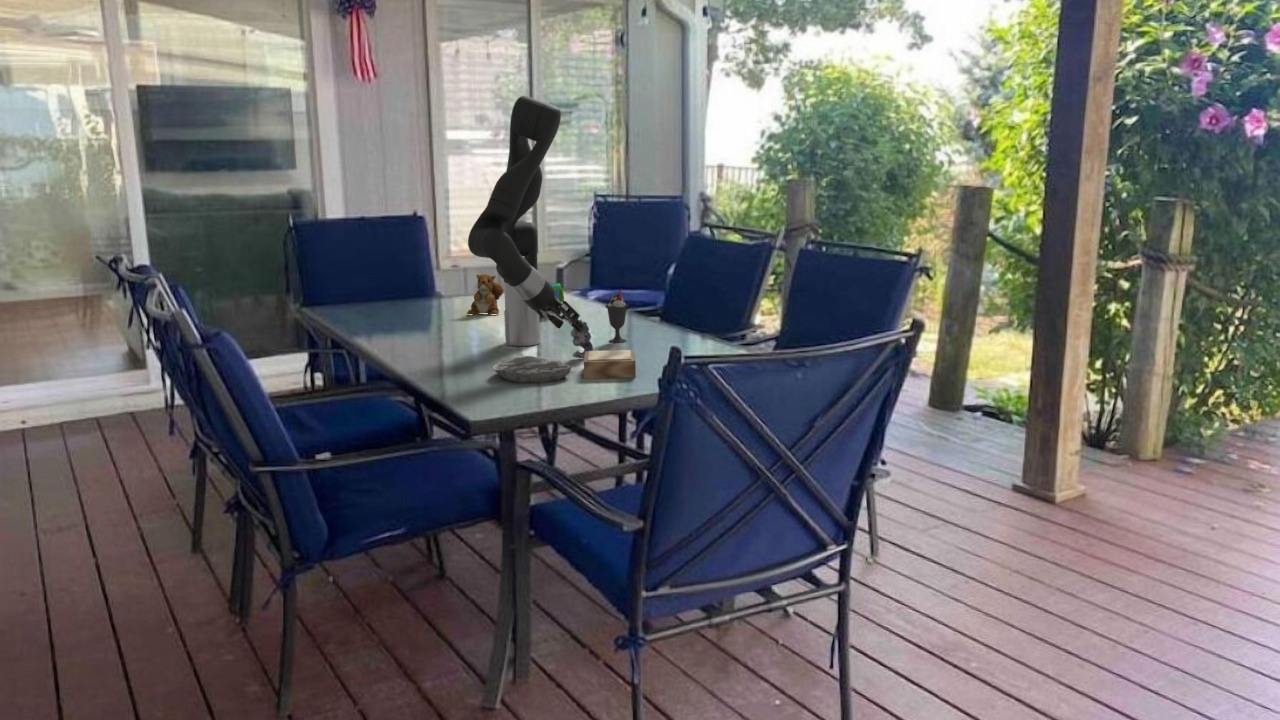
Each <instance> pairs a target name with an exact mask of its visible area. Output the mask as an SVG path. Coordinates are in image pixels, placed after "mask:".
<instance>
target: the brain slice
mask: <svg viewBox="0 0 1280 720" xmlns="http://www.w3.org/2000/svg"><path fill="white" fill-rule="evenodd" d="M491 368H492V369H493V371H495V373H497V374H499V375H500V376H501V377H502V378H503V379H504V378H505V379H504V380H507V379H510V380H509V381H510V382H512V381H514V382H513V383H521V382H527V383H533V384H534V383H546V382H551V381H559V379H560V380H562V379H564V378H566V377H567V376H568V375H569V373H570V372H571V370H572V366H571V365H569V364H565V363H563V362H562V361H561V360H560V359H556V358H552V357H539V356H533V355H525V356H524V355H523V356H516V357H511V358H510V357H509V358H504V359H500V360H499V361H497V362H496V363H495V364H493V366H491Z"/></svg>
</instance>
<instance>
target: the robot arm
mask: <svg viewBox="0 0 1280 720" xmlns="http://www.w3.org/2000/svg"><path fill="white" fill-rule="evenodd" d="M561 112H562V111H561V109H560V108H558V107H557V106H555V105H553V104H550V103H547V102H544V101H542V100H540V99H537V98H533V97H531V96H526V95H522V96H520V97H518V98H517V100H515V101H514V104H513V107H512V110H511V114H510V123H509V151H508V158H507V166H506V170H505V171H504V172H503V174H501V176H500V177H499V178H498V180H497V181H496V183H495V185H494V186H493V190H492V192H491V194H490V197H489V199H488V202H487V205H486V207H485V208H484V210H483V211H482V212H481V213H480V215H479V217H477V219H476V221H475V222H474V224H473V226H472V227H471V230H470V231H469V234H468V239H467V246H468V249H469V251H470V253H472V254H473V255H474V256H476V257H479V258H486V259H491V260H492V261H493V262H494V263H495V268H496V269H495V270H496V272H497V274H498V275H499V276H500V277H501V278H502V279H503V289H504V291H503V294H504V311H503V312H504V313H503V315H504V318H503V319H504V333H505V334H504V335H505V339H504V340H505V346H512V345H513V346H515V347H528V346H535V345H538V344H540V343H541V329H540V325H541V324H540V318H545V320H547V321H549V322H551V324H552V325H554V327H555V328H556V329H561V328H562V326H564V322H566V323H567V324H569V325H570V326H571V327H572V329H573V328H574V329H575V330H576V331H577V332H579V333H580V332H581V331H582V330H583V328H584V325H583V324H582V323H581V322H580V319H579V318H580V317H581V315H580V314H579V313H578V312H577V311H576V310H575V309H574V308H573V307H572V305H570V304H569V302H567V301H566V300H564V301H563V302H562V303H561V302H560V301H559V300H558V299H555V289H554V288H553V286H552V285H551V284H550V283H551V282H550V281H548V279H546V278H545V277H544V276H543V274H542V273H540V272H539V271H538V270H539V269H538V243H539V242H538V238H539V237H538V236H539V235H538V229H537V227H536V225H535V223H534V222H531V221H521V222H518V221H519V220H520V219H521V218H522V217H523V216H524V215H525V214H526V213H527V212H528V211H530V209H531V208H533V206H534V205H535V204H536V202H537V201H538V200H539V198H540V194H541V190H542V184H543V172H542V169H541V164H542V162H543V160H544V159H545V157H546V155H547V152H548V151H549V149H550V147H551V145H552V143H553V142H554V140H555V137H556V134H557V133H558V130H559V128H560V124H561V119H562V113H561ZM529 140H531V141H533V142H535V143H534V146H533V148H532V149H531V146H530V144H529ZM540 311H541V312H540ZM561 314H562V315H561Z"/></svg>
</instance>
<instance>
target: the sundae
mask: <svg viewBox="0 0 1280 720" xmlns="http://www.w3.org/2000/svg"><path fill="white" fill-rule="evenodd" d="M622 290H623V288H620V289H619V291H618V293H616V295H613V296H610V297H609V303H608V304H604V307H605V309H607V314H608V319H609V324H610V327H612V329H614V331H615V334H614V338H612V339H608V342H609V343H611V342H613V343H612V344H621V343H620V342H623V343H625V341H626V342H627V339H624V338H622V337H621V334H620V329H622V328H623V326H624V325H625V322H626V314H627V309H628V307H630V304H627V303H625V301H624V298H623V297H622V294H621V293H620V292H621V291H622Z"/></svg>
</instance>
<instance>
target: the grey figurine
mask: <svg viewBox="0 0 1280 720" xmlns="http://www.w3.org/2000/svg"><path fill="white" fill-rule="evenodd" d="M579 321H580V322H581V323H582V324H583V325H584V328H583V330H582V331H581V332H580V333H579V332H577V331H576V330H575V329H574V328H573V327H572V330H571V331H570V335H571V337H572V338H573V339H572V344H573V346H575V347H581V348H582V349H583V351H582V352H580V351H579V350H576V351H575V352H573V353H572V357H574V358H577V359H584V356H585V351H595V350H594V346H593V344H592V341H591V338H592V335H591V333H590V332H589V331H590V327H589V326H588V322H587V321H582V319H579Z"/></svg>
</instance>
